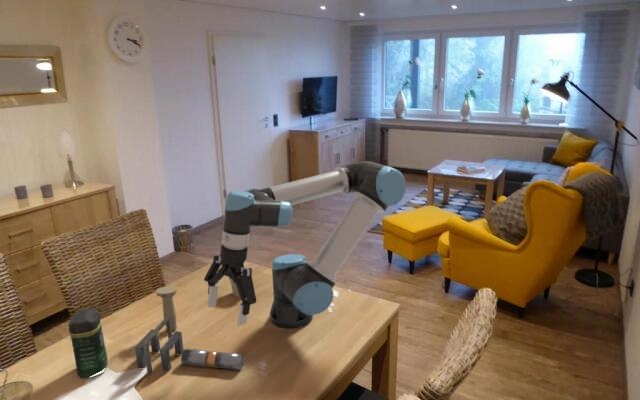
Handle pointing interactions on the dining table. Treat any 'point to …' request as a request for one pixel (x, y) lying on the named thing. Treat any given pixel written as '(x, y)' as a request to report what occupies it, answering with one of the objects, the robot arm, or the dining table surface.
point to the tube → (212, 359)
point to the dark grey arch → (164, 351)
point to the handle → (168, 304)
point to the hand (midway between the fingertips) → (226, 314)
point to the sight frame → (156, 332)
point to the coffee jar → (88, 342)
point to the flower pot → (234, 287)
